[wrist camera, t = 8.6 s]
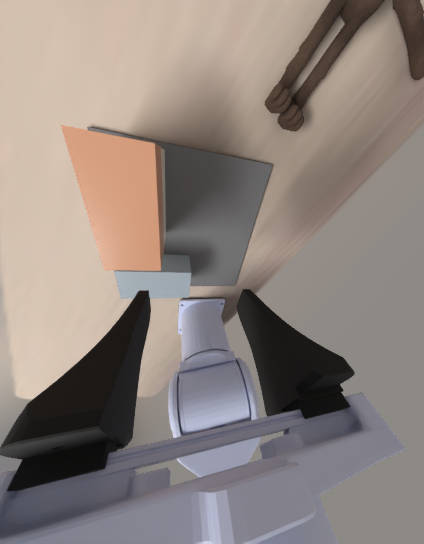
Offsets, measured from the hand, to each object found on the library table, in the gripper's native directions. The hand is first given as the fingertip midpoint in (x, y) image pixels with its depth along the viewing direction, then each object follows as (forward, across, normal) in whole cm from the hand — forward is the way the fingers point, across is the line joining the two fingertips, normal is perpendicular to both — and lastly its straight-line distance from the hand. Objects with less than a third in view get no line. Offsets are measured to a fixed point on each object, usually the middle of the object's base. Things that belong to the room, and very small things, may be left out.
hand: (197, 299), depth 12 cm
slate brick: (+10, +4, +4) cm, 12 cm away
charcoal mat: (+10, 0, -1) cm, 10 cm away
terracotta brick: (+6, +5, -5) cm, 9 cm away
